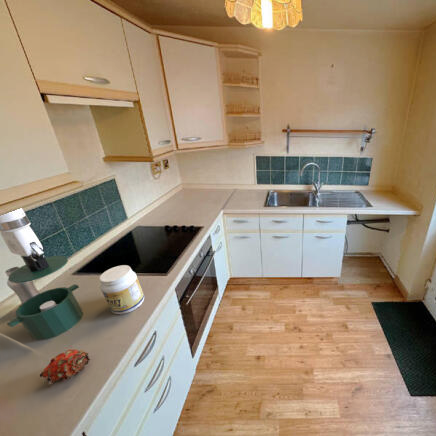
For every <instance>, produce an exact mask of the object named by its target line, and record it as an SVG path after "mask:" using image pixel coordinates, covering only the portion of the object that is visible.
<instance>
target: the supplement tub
mask: <svg viewBox="0 0 436 436" xmlns="http://www.w3.org/2000/svg"><path fill="white" fill-rule="evenodd" d="M99 281H100V286H99V287H100V291H101V292H102V295H103V297H104V299H105V301H106V303H107V305H108V307H109V310H110V311H111V312H112V313H113V314H115V315H125V314H128V313H131V312H133V311H135V310H137V309H138V308H139V307H140V306H141V305H142V304H143V303H144V301H145V294H144V291H143V288H142V286H141V284H140V281H139V278H138V275H137V273H136V272H135V271H133V269H132V268H131V266H130V265H127V264H122V265H117V266H114V267H111V268H109V269H107V270H105V271H104V272H103V273H101V274H100V275H99Z"/></svg>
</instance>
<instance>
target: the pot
mask: <svg viewBox="0 0 436 436" xmlns="http://www.w3.org/2000/svg"><path fill="white" fill-rule="evenodd" d="M79 288H80V286H79V285H78V284H76V283H75V284H72V285H70V286H69V287H66V286H63V287H55V288H51V289H47V290H44V291H43V292H40V294H37V295H35V296H34V297H32V298H30V299H28V300H27V301H25V302H24V303H23V304H22V303H21V304H20V305H19V306H18V307H17V308H16V310H15V316H16V317H15V318H13V319H11V320H10V321H7V322H6V324H7V326H8V327H12V328H14V327H15V326H17V325H18V324H20V323H21V324H22V326H23V327H24V328H25V329H26V331H27V332H28V334H29V335H30V336H31V338H33V339H34V340H36V341H45V340H49V339H52V338H55V337H58V336H60V335H61V334H64V333H66V332H68V331H69V330H70V329H72V328H73V327H75V326H76V325H77V324H78V323H79V322H80V321H81V320H82V318H83V316H84V310H83V308H81V305H80V304H79V301H78V300H77V298H76V297H75V296H76V295H74V293H73V292H74V291H75V290H77V289H79ZM48 301H54V302H55V304H57V305H56V306H54V307H53V308H51V309H48V310H46V311H44V312H42V311H41V310H40V306H41V305H42V304H44V303H46V302H48Z"/></svg>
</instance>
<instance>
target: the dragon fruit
mask: <svg viewBox="0 0 436 436" xmlns="http://www.w3.org/2000/svg"><path fill="white" fill-rule="evenodd" d="M90 361H91V359H90V357H89V351H86V350H83V349H67V350H66V351H65V352H60V353H59V354H57V355H56V356H55V357H53V358H51V359H50V362H49V363H48V365H47V366H46V367H45V368H44V369H43V370H42V371H41V372H40V374H39V377H40V378H43V379H46V381H48V382H47V384H48V385H49V386H53V384H54V383H55V382H57V381H58V380H60V379H61V378H62V381H63V382H65V381H68V380H69V379H72V378H73V377H74V375H77V374H78V373H80V372H82V371H83V370H84V369H85V366H87V365H88V364H89V363H90Z"/></svg>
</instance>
